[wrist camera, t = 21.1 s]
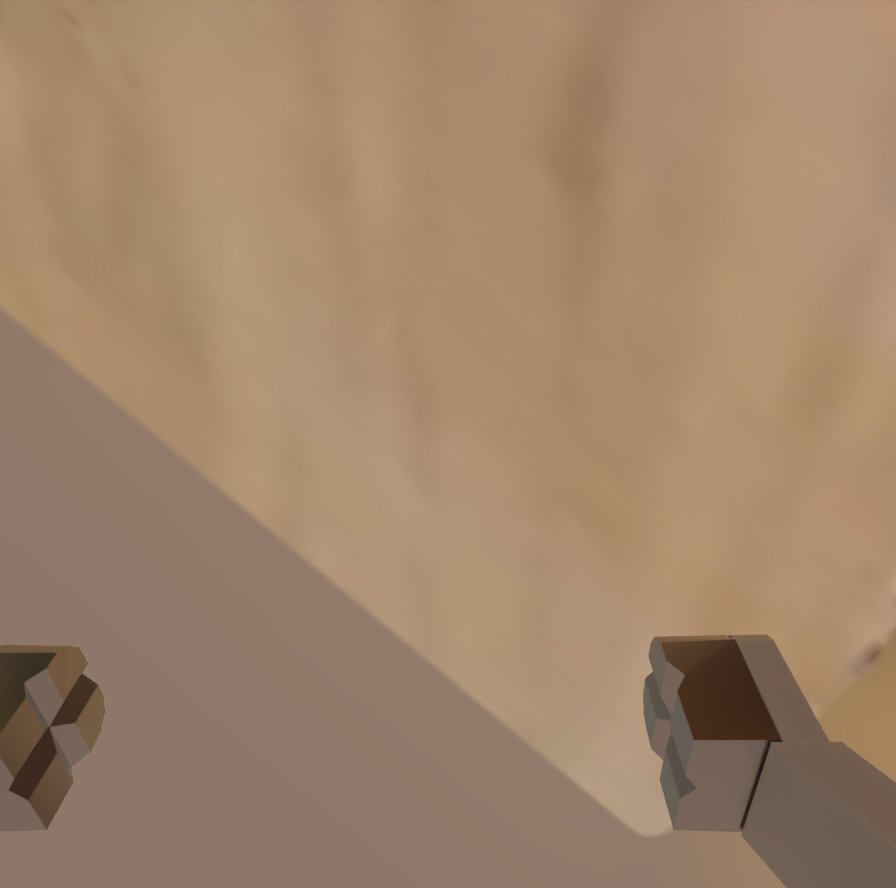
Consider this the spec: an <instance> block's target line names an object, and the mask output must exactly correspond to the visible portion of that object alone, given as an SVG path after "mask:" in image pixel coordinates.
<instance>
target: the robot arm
mask: <svg viewBox="0 0 896 888" xmlns="http://www.w3.org/2000/svg"><path fill="white" fill-rule="evenodd" d="M649 659H650V663H651V666H652V669H653V672H652V673H651V674H650V675H649V676H647V677H646V678H645V684H644V693H643V702H644V718H645V723H646V729H647V734H648V738H649V741H650V745H651V749H652V750H653V751H654V752H655V753H656V754H657V755H658V756H659V757H660V758H662V759H663V765H662V771H661V776H660V782H661V786H662V790H663V793H664V797H665V800H666V804H667V808H668V811H669V815H670V818H671V822H672V825H673V829H674V830H694V831H730V832H742V834H741V836H742V837H743V838H744V839H745V840H746V842H747V843H748V844H749V845H750V846H751V847H752V849H753V850H754V851H755V852H756V853H757V854H758V855H759V857H760V858H761V859H762V860H763V861H764V862H765V863H766V865H767V866H768V867H769V868H770V869H771V870H772V871H773V873H774V874H775V875H776V876H777V877H778V878H779V879H780V881H781V882H782V883H783V884H784V885H785V886H786V887H787V888H896V783H895V782H894V781H893V780H892V779H890V778H889V777H888V776H886V775H885V774H884V773H882V772H881V771H880V770H878V769H877V768H876V767H874V766H873V765H872V764H870V763H869V762H868V761H866V760H865V759H864V758H862V757H861V756H859V755H858V754H857V753H856V752H854V751H853V750H852V749H850V748H849V747H848V746H846V745H845V744H843V742H829V740H828V738H827V736H826V735H825V733H824V731H823V729H822V727H821V725H820V723H819V722H818V720H817V718H816V716H815V714H814V713H813V711H812V709H811V707H810V705H809V703H808V702H807V700H806V698H805V696H804V694H803V692H802V691H801V689H800V687H799V685H798V683H797V681H796V680H795V678H794V676H793V674H792V672H791V670H790V669H789V667H788V665H787V663H786V661H785V660H784V658H783V656H782V654H781V652H780V650H779V649H778V647H777V645H776V643H775V641H774V640H773V639H772V638H771V637H769V636H768V635H729V636H726V635H707V636H668V637H654V638H653V640H652V642H651V645H650V651H649ZM87 664H88V662H87V661H86V659H85V657H84V655H83V654H82V652H81V650H80V648H79V647H72V646H30V645H28V646H27V645H26V646H25V645H3V646H0V831H23V830H25V831H26V830H47V829H48V827H49V825H50V823H51V821H52V820H53V818H54V816H55V814H56V813H57V811H58V809H59V807H60V805H61V803H62V802H63V800H64V798H65V796H66V795H67V793H68V791H69V789H70V787H71V786H72V784H73V776H72V770H71V767H72V766H73V765H74V764H76V763H77V762H78V761H79V760H81V759H82V758H83V757H84V756H86V755H87V754H88V753H90V751H91V750H92V748H93V746H94V744H95V742H96V740H97V737H98V736H99V734H100V731H101V727H102V723H103V718H104V713H105V707H104V698H103V694H102V692H101V690H100V688H99V686H98V684H97V683H95V682H94V681H92V680H91V679H89V678H88V677H86V676H85V675H83V672H84V670H85V668H86V666H87Z"/></svg>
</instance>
